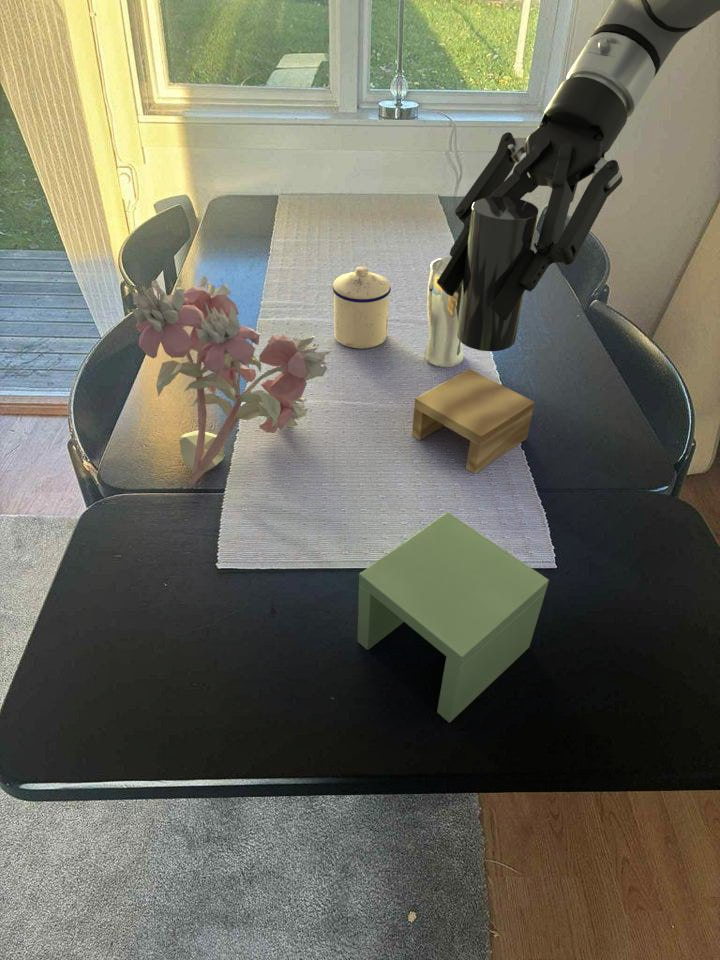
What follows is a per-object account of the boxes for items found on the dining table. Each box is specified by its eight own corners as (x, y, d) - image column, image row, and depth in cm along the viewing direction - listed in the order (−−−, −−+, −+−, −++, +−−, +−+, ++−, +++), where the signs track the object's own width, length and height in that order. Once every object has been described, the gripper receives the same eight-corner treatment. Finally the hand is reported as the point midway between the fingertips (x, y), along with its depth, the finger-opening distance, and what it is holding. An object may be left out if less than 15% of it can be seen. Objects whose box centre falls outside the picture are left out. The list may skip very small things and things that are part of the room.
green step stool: (529, 647, 69) (549, 579, 62) (449, 723, 62) (462, 657, 56) (438, 578, 75) (447, 511, 69) (357, 641, 69) (358, 573, 62)
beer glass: (417, 348, 112) (424, 257, 102) (458, 344, 113) (470, 255, 103) (428, 371, 107) (436, 278, 97) (471, 367, 108) (484, 275, 98)
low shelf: (526, 438, 94) (535, 402, 90) (474, 474, 89) (481, 436, 85) (464, 404, 100) (469, 368, 96) (411, 435, 94) (414, 398, 91)
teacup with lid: (399, 339, 114) (403, 271, 106) (354, 356, 110) (355, 286, 102) (356, 311, 121) (357, 245, 114) (312, 325, 117) (310, 258, 109)
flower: (325, 510, 81) (342, 286, 74) (124, 500, 78) (124, 267, 72) (318, 468, 100) (331, 288, 94) (156, 459, 97) (159, 272, 91)
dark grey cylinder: (527, 338, 77) (552, 209, 68) (490, 358, 73) (511, 225, 64) (481, 317, 80) (499, 192, 71) (444, 335, 77) (458, 206, 68)
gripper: (505, 57, 72) (386, 253, 74) (683, 90, 61) (538, 319, 63) (527, 106, 78) (417, 286, 80) (692, 144, 67) (560, 351, 69)
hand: (470, 300), depth 71 cm, fingers closed on dark grey cylinder, 6 cm apart
